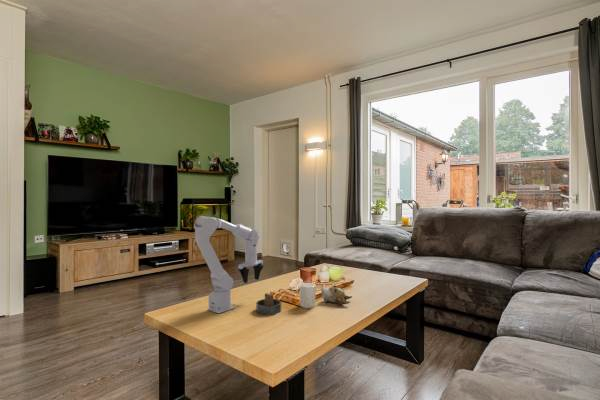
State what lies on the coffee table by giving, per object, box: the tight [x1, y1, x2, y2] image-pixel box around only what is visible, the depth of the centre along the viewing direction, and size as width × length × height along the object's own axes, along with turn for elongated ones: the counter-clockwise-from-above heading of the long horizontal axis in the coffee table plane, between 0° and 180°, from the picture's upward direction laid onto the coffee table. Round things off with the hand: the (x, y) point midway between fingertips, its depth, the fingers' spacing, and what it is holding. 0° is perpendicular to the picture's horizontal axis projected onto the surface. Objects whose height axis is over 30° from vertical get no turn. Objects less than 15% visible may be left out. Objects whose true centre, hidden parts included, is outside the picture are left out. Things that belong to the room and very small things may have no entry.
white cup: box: [298, 282, 317, 309], centre depth 157 cm, size 8×8×10 cm
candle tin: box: [255, 298, 282, 316], centre depth 151 cm, size 11×11×4 cm
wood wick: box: [264, 292, 274, 306], centre depth 151 cm, size 5×5×7 cm
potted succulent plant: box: [320, 285, 353, 306], centre depth 162 cm, size 11×9×15 cm
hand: (251, 280), depth 164 cm, fingers open, 7 cm apart
